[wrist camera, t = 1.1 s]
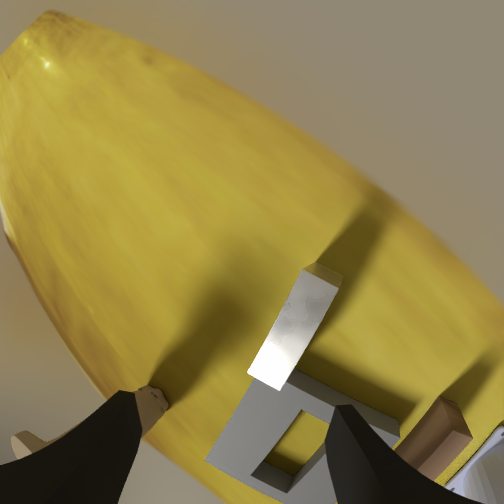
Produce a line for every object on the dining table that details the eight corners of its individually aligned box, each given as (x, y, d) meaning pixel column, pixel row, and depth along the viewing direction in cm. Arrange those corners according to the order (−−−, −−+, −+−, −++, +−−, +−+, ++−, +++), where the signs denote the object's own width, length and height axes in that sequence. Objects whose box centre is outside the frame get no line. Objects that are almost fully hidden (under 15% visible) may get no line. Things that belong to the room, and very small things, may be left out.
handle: (140, 361, 27) (10, 424, 13) (192, 406, 26) (75, 501, 12) (125, 391, 28) (11, 453, 14) (172, 433, 27) (68, 519, 13)
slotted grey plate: (398, 420, 20) (400, 437, 18) (322, 499, 22) (317, 517, 20) (270, 355, 23) (260, 367, 21) (216, 445, 25) (204, 460, 23)
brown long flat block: (457, 404, 18) (472, 438, 14) (334, 526, 22) (326, 561, 17) (439, 395, 19) (453, 430, 14) (318, 520, 22) (308, 555, 18)
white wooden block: (343, 275, 21) (339, 288, 16) (297, 358, 23) (279, 391, 17) (315, 261, 22) (302, 269, 17) (272, 344, 23) (247, 372, 18)
